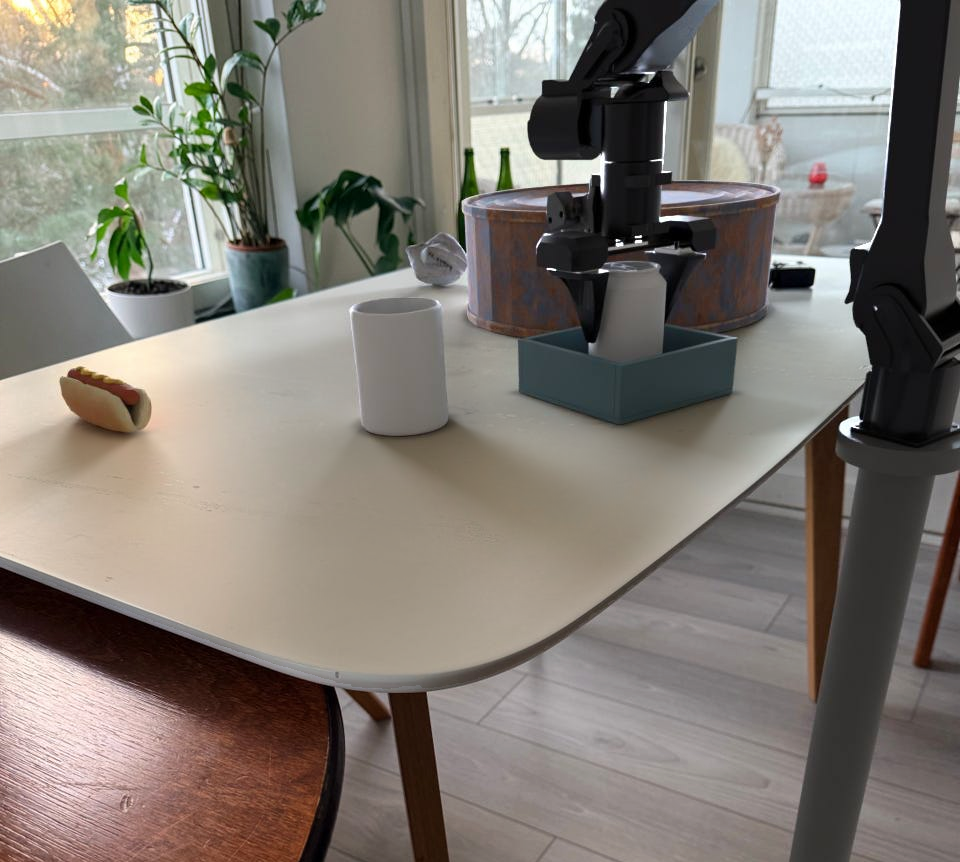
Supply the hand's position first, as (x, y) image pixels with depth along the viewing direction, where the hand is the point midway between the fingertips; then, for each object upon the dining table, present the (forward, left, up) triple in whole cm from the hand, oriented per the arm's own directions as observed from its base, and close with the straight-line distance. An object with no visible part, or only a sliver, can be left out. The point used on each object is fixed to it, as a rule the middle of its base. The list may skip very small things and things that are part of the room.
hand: (625, 334), depth 92 cm
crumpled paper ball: (+71, -23, -6) cm, 75 cm away
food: (+28, +45, -6) cm, 53 cm away
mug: (+8, +21, -6) cm, 23 cm away
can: (0, 0, -6) cm, 6 cm away
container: (+33, -29, -6) cm, 44 cm away
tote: (0, 0, -6) cm, 6 cm away
